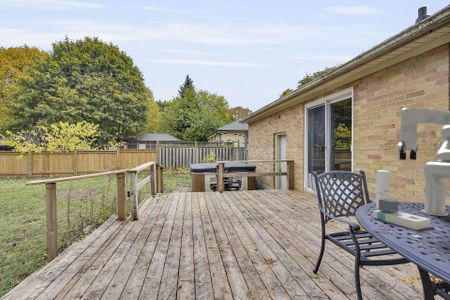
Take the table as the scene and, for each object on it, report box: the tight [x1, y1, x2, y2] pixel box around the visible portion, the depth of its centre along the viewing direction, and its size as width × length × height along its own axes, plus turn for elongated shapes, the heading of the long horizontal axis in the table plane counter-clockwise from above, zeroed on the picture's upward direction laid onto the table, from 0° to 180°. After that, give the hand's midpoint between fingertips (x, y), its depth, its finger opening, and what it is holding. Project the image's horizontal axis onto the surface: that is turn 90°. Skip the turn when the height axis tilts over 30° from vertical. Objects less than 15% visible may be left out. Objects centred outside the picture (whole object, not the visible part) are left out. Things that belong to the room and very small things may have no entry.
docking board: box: [372, 209, 431, 231], centre depth 133 cm, size 22×12×4 cm, turn 25°
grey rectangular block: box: [379, 198, 399, 213], centre depth 139 cm, size 6×7×10 cm
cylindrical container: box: [375, 169, 391, 210], centre depth 160 cm, size 7×7×25 cm
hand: (407, 159), depth 142 cm, fingers open, 9 cm apart
